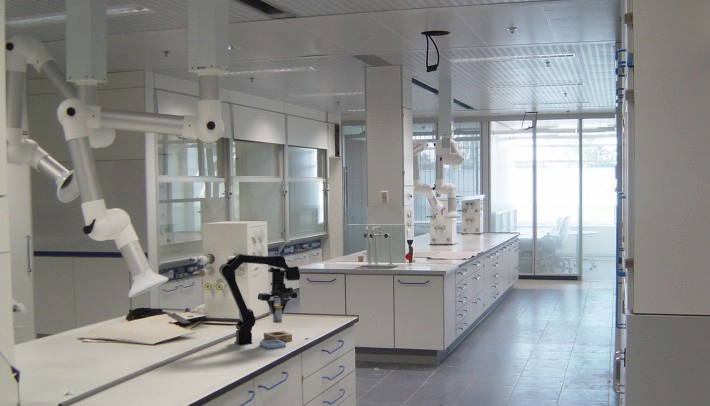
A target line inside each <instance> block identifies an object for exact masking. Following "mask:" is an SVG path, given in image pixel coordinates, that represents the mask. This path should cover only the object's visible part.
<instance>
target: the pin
mask: <svg viewBox="0 0 710 406" xmlns="http://www.w3.org/2000/svg"><path fill="white" fill-rule="evenodd" d="M282 307H283V305H281V304H274V314H272V323H274V324H275V323H276V324H280V323H283V313H282Z"/></svg>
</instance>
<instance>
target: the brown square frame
mask: <svg viewBox="0 0 710 406" xmlns="http://www.w3.org/2000/svg"><path fill="white" fill-rule="evenodd" d="M276 339H277V340H280V341H282V342H285V343H287V342H292V341H293V334H291V333H289V332H287V331H285V330H279V331H270V332H269V331H268V332H264V333H263V340H264V341H267V340H276Z"/></svg>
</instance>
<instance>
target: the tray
mask: <svg viewBox="0 0 710 406" xmlns="http://www.w3.org/2000/svg"><path fill="white" fill-rule="evenodd" d="M286 343H287V342H282V341H280V340H277V339H276V340H261V341H259V346H261V347H262V348H265V349H267V350H271V349H272V350H273V349H280V348H286V345H287V344H286Z"/></svg>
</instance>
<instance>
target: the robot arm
mask: <svg viewBox="0 0 710 406" xmlns="http://www.w3.org/2000/svg"><path fill="white" fill-rule="evenodd" d="M243 263H244V264H257V265H268V266H270V268H269V269H268V270H267V272H269V273H271V282H270V286H271V291H270V293H267V292H261V293H260V292H259V293H258V295H257V300H260V301H262V302H266V303H267V305H268V307H269V309H270V311H271V315H273V314H274V305H275V302H276V300H274V299H277V298H279V300H280V301H279V303H280V304H279V305H283V307H282V314H283V313H284V311H285V309H286V306H287V303H289V301H291V299H298V292H297V291H294V288H293V287H287V286H286V283H285V280H286V281H287V282H288V281H290V282H292V281H299V280H300V279H301V273H300V269H299V266H288V264H287V262H286V258H285V257H284V256H282V255H281V254H270V255H256V254H255V255H254V254H242V253H238V254H236V255H235V256H234V257H232V258H231V259H229V260H228V261H226V262H225V263H222V264H221V265H219V268H218V272H219V274H220V276H221V277H222V278H223V280H224V281H225V283H226V284H227V286H228V288H229V291H230V293H231V296H232V298H233V300H234V302H235V305H236V307H237V311H238V317H239V320H238V321H237V323H236V324H235V327H236V328H235V329H236V330H235V341H234V343H235V344H237V345H239V346H243V345H252V344H253V342H252V341H253V333H252V328H253V327H254V326H255V324H256V319H257V317H256V316H255V314H254V310H252V309H251V308H249V307H248V306H247V304H246V302H245V300H244V297H243V294H242V293H241V290H240V288H239V285H238V284H237V279H236V274H235V271H236V270H237V269H239V268H240V266H241V265H242V264H243ZM275 267H276V268H275Z"/></svg>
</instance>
